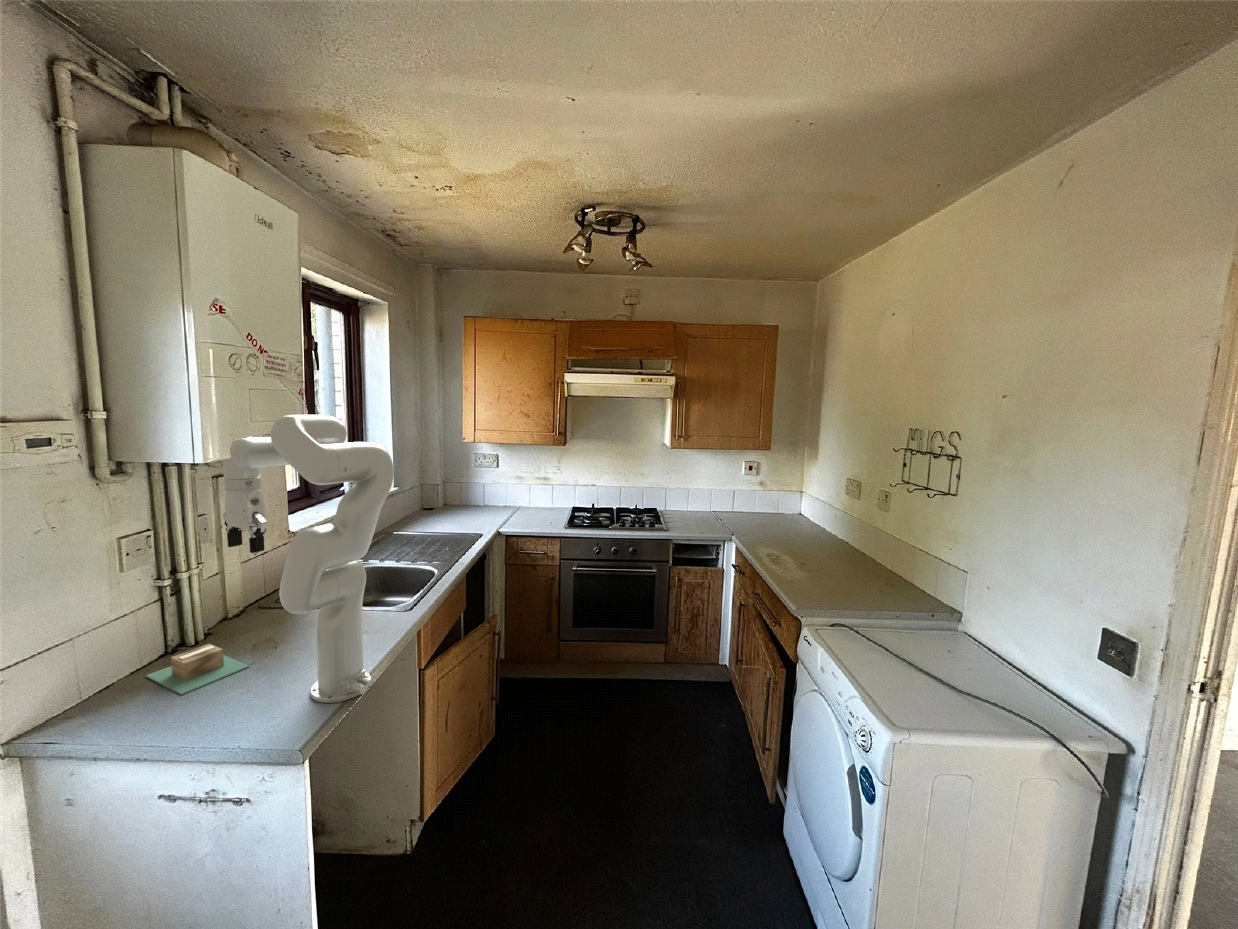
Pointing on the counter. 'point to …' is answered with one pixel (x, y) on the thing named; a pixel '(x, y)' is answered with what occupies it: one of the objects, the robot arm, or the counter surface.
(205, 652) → the cardboard box
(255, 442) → the robot arm
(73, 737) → the counter surface
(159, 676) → the play mat
